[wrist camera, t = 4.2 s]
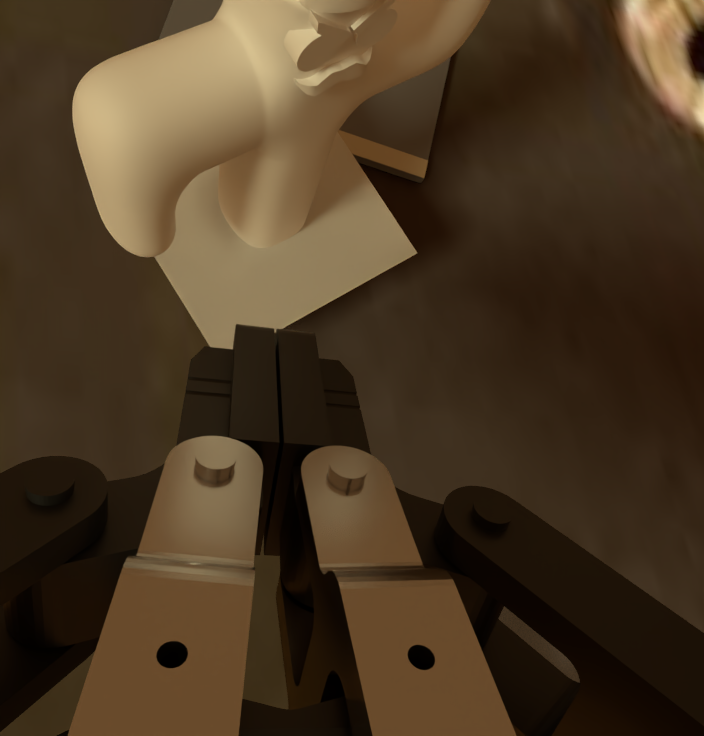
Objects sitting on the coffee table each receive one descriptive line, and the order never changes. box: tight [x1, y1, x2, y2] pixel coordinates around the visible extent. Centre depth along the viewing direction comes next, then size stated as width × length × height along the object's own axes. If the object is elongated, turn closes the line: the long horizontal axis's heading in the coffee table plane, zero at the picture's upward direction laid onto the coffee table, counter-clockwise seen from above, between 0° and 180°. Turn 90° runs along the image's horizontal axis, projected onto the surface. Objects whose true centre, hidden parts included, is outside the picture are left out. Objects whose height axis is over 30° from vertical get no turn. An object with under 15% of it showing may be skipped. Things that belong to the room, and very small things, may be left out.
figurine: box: [72, 0, 491, 349], centre depth 16 cm, size 7×9×15 cm
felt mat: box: [159, 0, 451, 183], centre depth 26 cm, size 11×11×1 cm
